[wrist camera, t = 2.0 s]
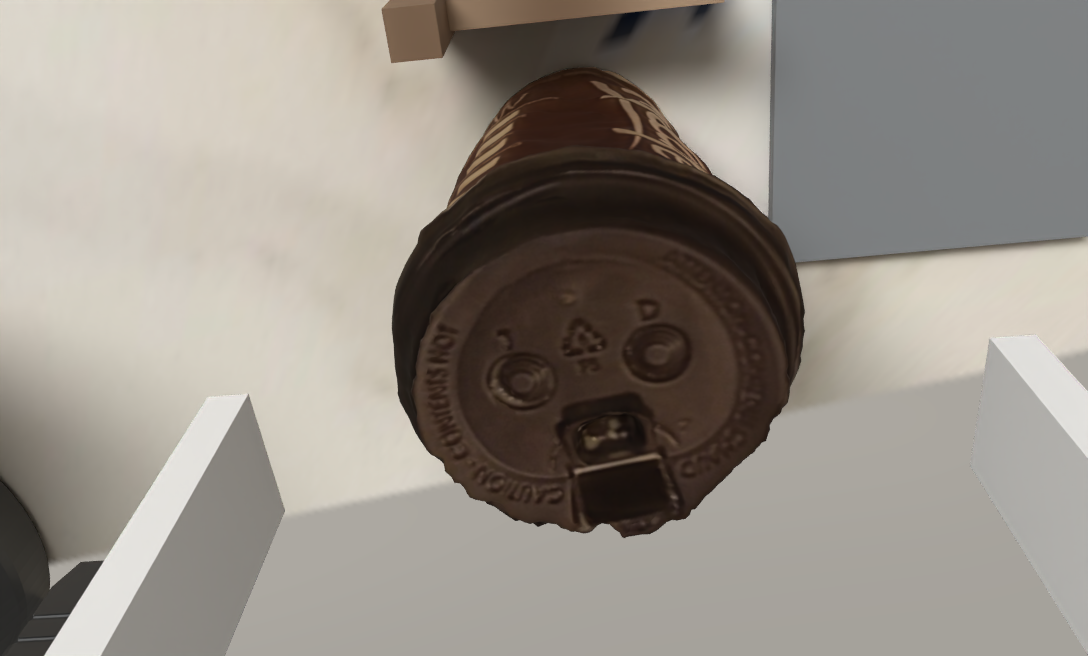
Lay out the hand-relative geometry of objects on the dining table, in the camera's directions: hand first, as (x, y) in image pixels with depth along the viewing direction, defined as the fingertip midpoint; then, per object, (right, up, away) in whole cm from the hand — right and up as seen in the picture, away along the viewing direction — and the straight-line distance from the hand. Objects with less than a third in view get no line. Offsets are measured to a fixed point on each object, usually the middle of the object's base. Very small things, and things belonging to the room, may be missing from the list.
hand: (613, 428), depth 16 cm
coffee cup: (0, +7, +12) cm, 14 cm away
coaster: (+11, +9, +11) cm, 18 cm away
